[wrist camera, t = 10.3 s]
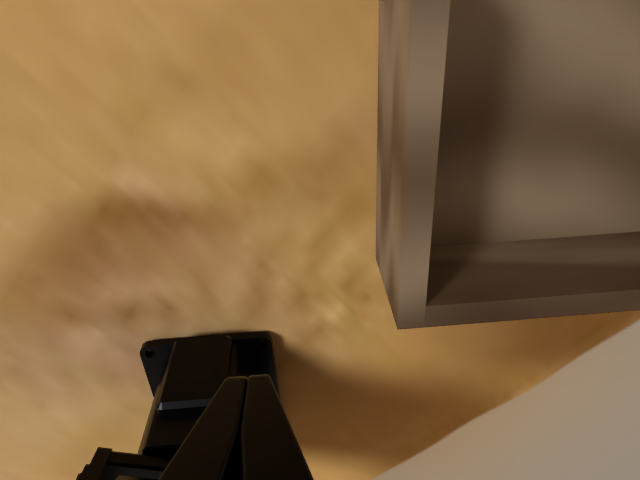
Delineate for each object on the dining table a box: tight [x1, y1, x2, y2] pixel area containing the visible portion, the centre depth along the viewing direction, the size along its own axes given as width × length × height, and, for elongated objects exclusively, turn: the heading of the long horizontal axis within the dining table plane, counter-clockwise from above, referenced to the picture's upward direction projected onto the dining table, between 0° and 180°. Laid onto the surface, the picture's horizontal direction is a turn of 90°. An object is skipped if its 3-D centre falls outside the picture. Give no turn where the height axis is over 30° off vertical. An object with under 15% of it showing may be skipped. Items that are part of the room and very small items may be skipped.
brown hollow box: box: [376, 0, 640, 329], centre depth 17 cm, size 12×13×5 cm
